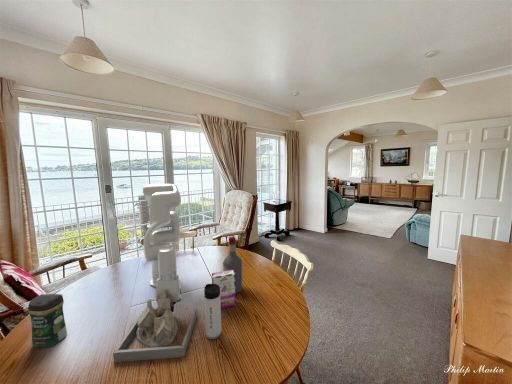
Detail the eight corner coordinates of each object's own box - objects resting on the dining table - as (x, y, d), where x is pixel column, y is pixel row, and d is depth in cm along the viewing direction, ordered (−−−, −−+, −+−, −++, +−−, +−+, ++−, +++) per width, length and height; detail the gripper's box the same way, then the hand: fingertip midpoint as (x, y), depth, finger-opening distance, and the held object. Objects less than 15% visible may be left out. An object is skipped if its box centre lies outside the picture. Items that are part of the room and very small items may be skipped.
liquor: (230, 296, 109) (229, 241, 106) (222, 289, 116) (220, 237, 113) (244, 290, 114) (243, 237, 112) (235, 283, 121) (234, 234, 119)
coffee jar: (27, 349, 77) (21, 302, 76) (49, 332, 85) (44, 290, 84) (52, 349, 77) (46, 302, 75) (71, 333, 85) (67, 290, 83)
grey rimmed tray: (143, 318, 93) (142, 311, 92) (197, 315, 95) (196, 308, 94) (113, 362, 71) (113, 352, 71) (184, 356, 73) (183, 347, 73)
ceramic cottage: (140, 323, 90) (139, 291, 88) (180, 318, 94) (179, 287, 91) (127, 355, 75) (125, 318, 73) (174, 348, 79) (174, 313, 76)
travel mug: (214, 325, 88) (212, 280, 86) (224, 332, 84) (223, 286, 82) (202, 334, 83) (200, 287, 82) (212, 342, 79) (210, 293, 77)
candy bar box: (234, 299, 106) (233, 269, 104) (236, 305, 101) (235, 274, 99) (212, 303, 103) (211, 272, 101) (213, 310, 98) (212, 277, 96)
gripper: (146, 280, 88) (149, 320, 89) (182, 278, 89) (184, 318, 90) (154, 271, 95) (156, 309, 97) (187, 270, 96) (188, 307, 98)
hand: (170, 313), depth 93 cm, fingers closed
